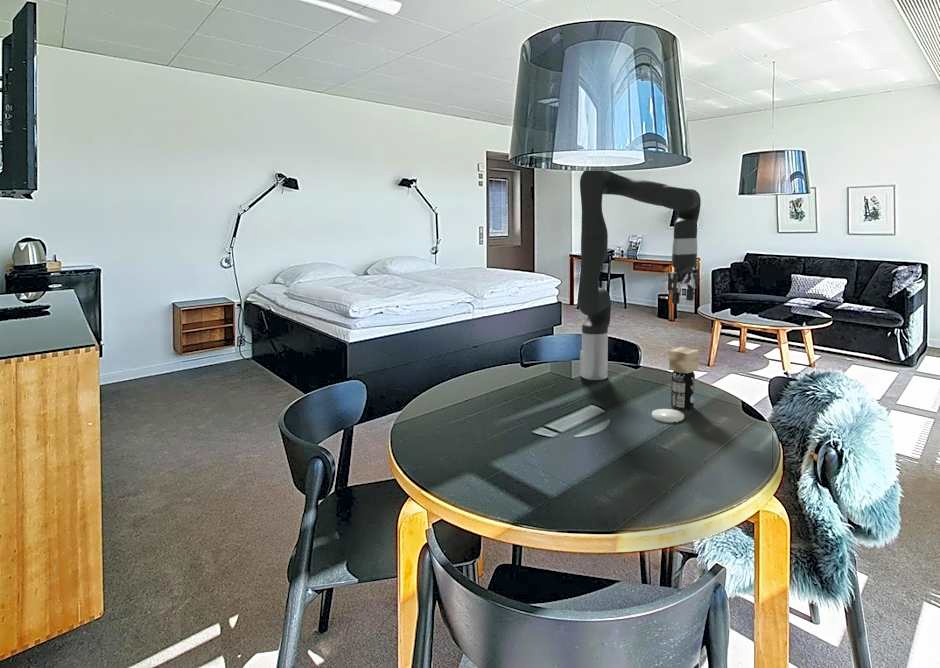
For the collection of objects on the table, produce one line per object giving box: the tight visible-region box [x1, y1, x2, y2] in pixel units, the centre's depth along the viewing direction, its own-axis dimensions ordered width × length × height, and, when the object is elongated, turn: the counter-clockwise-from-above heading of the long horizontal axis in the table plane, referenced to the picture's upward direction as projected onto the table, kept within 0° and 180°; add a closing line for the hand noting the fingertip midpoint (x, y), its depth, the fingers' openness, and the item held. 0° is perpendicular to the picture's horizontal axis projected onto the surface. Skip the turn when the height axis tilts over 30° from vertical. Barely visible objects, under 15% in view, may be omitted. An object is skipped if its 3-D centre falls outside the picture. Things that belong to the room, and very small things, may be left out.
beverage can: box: [670, 370, 696, 410], centre depth 170 cm, size 7×7×12 cm
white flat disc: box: [651, 408, 685, 424], centre depth 163 cm, size 9×9×1 cm
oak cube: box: [668, 346, 700, 373], centre depth 169 cm, size 6×6×6 cm
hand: (682, 301), depth 182 cm, fingers open, 8 cm apart
